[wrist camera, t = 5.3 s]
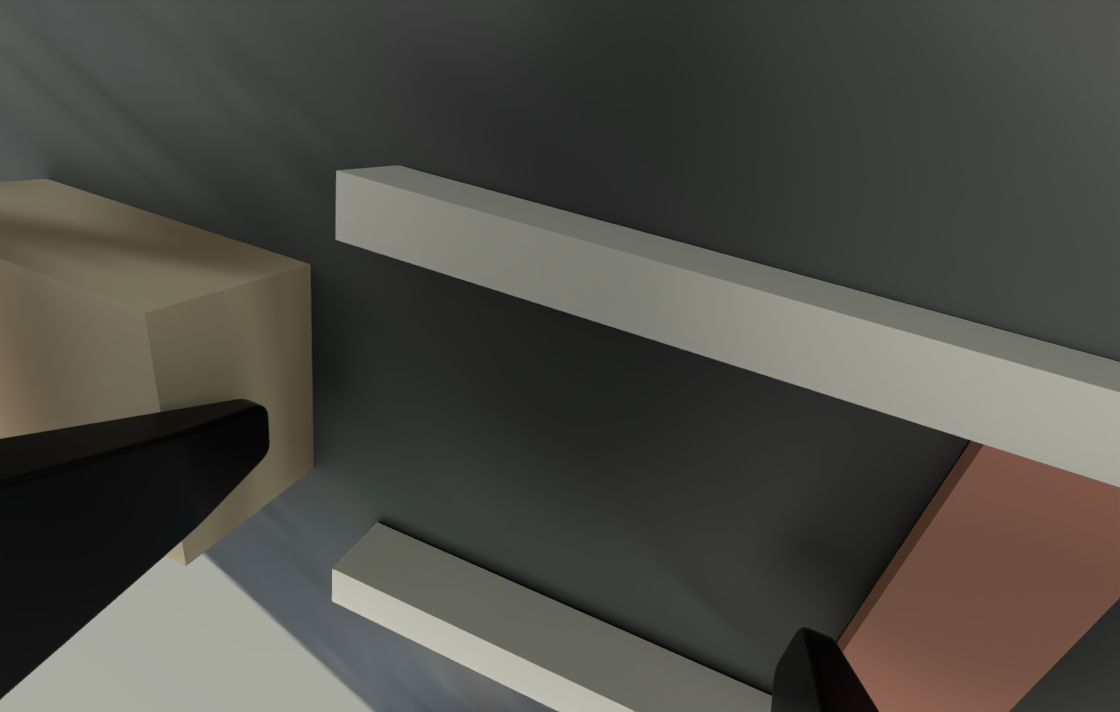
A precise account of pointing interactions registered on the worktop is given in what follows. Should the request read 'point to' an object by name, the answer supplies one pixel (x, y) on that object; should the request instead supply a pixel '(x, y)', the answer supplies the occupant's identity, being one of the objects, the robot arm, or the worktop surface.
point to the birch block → (150, 330)
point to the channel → (804, 360)
